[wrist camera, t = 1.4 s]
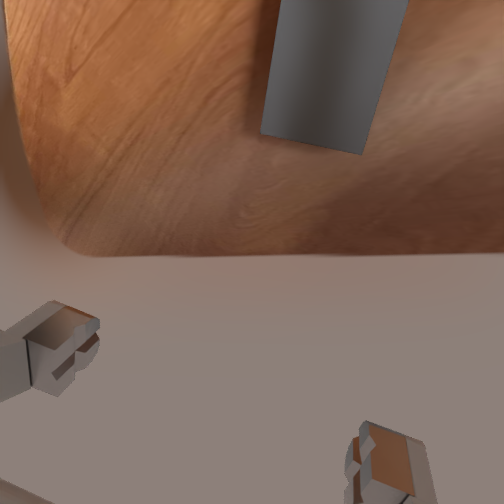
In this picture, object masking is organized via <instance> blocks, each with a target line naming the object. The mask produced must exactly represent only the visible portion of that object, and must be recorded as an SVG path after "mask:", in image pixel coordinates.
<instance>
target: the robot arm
mask: <svg viewBox="0 0 504 504" xmlns="http://www.w3.org/2000/svg"><path fill="white" fill-rule="evenodd" d="M99 328H100V320H99V319H98V318H96V317H94V316H92V315H89V314H87V313H85V312H82V311H80V310H77V309H75V308H73V307H70V306H67V305H65V304H62V303H60V302H57V301H49V302H47V303H46V304H44V305H42V306H41V307H40V308H38V309H37V310H35V311H34V312H32V313H31V314H29V315H28V316H26V317H25V318H23V319H22V320H21V321H19V322H18V323H16V324H15V325H13V326H12V327H10V328H9V329H7V330H6V331H2V330H0V402H3V401H5V400H7V399H9V398H11V397H13V396H16V395H18V394H20V393H22V392H24V391H27V390H29V389H30V388H31V387H33V388H35V389H38V390H41V391H44V392H46V393H48V394H51V395H54V396H56V397H58V396H59V395H60V394H61V393H62V392H63V391H64V390H65V389H66V388H67V387H68V386H69V385H70V384H71V383H72V382H73V381H74V380H75V372H77V371H80V370H83V369H85V368H86V367H87V366H88V365H89V364H90V363H91V362H92V360H93V359H94V357H95V355H96V354H97V351H98V348H99V341H100V340H99V337H98V335H97V334H96V331H97V330H98V329H99ZM345 476H346V478H347V480H348V482H349V484H348V486H347V487H346V489H345V491H344V504H438V503H437V499H436V494H435V489H434V485H433V480H432V475H431V471H430V466H429V462H428V458H427V453H426V448H425V445H424V443H423V442H422V441H420V440H417V439H414V438H412V437H409V436H406V435H404V434H401V433H399V432H396V431H393V430H390V429H388V428H385V427H382V426H380V425H377V424H374V423H372V422H369V421H365V422H363V423H362V425H361V426H360V428H359V436H358V437H356V438H353V439H352V441H351V443H350V445H349V447H348V451H347V454H346V459H345ZM0 504H54V503H52V502H50V501H48V500H46V499H44V498H42V497H39V496H37V495H35V494H33V493H31V492H28V491H26V490H24V489H22V488H20V487H18V486H16V485H14V484H12V483H10V482H7V481H5V480H3V479H1V478H0Z"/></svg>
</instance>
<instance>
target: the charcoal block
mask: <svg viewBox="0 0 504 504" xmlns="http://www.w3.org/2000/svg"><path fill="white" fill-rule="evenodd" d="M408 2H409V0H281V5H280V11H279V18H278V24H277V30H276V36H275V42H274V49H273V55H272V61H271V67H270V74H269V80H268V86H267V92H266V98H265V105H264V111H263V117H262V123H261V130H260V134H264V135H269V136H274V137H278V138H283V139H288V140H292V141H297V142H302V143H307V144H311V145H316V146H321V147H325V148H330V149H335V150H339V151H344V152H349V153H353V154H358V155H362V153H363V150H364V147H365V143H366V140H367V137H368V134H369V130H370V127H371V124H372V120H373V117H374V114H375V111H376V107H377V104H378V101H379V97H380V94H381V91H382V87H383V84H384V81H385V78H386V74H387V71H388V68H389V64H390V61H391V58H392V55H393V51H394V48H395V45H396V41H397V38H398V35H399V32H400V28H401V25H402V22H403V18H404V15H405V12H406V9H407V5H408Z"/></svg>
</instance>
